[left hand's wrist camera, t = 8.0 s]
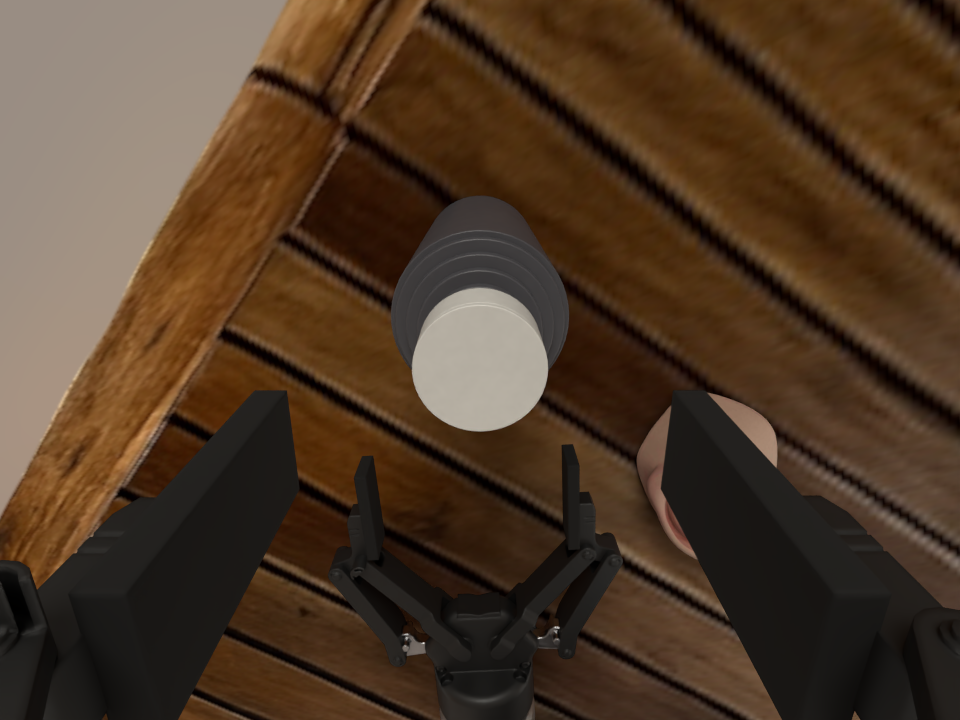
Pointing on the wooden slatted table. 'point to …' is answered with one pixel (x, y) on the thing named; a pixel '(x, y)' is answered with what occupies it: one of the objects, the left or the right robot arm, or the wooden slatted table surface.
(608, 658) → the wooden slatted table surface
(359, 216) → the wooden slatted table surface
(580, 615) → the right robot arm
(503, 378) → the cap
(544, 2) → the wooden slatted table surface
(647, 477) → the anatomical model
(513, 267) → the bottle
